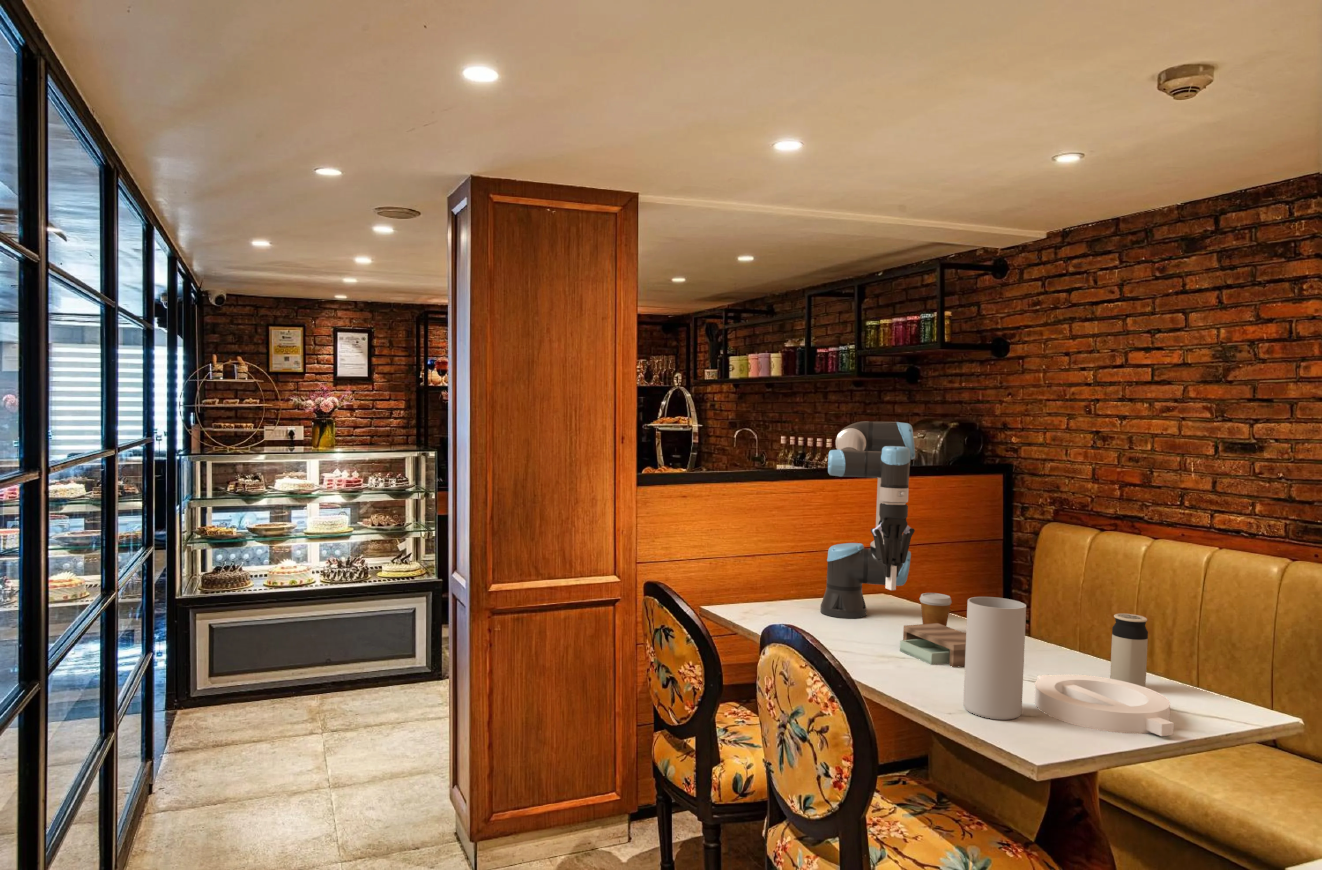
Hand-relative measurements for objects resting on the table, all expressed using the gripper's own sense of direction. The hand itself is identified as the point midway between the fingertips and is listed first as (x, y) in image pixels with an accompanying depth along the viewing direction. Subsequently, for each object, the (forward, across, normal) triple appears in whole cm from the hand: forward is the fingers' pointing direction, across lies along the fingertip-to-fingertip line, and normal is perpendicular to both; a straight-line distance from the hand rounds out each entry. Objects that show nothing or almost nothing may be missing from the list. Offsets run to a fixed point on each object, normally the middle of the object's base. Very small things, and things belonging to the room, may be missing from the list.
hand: (890, 589), depth 247 cm
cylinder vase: (+19, -2, -43) cm, 48 cm away
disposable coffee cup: (+20, +31, +20) cm, 41 cm away
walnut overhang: (+19, +19, 0) cm, 27 cm away
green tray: (+19, +15, -1) cm, 24 cm away
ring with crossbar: (+20, +23, -50) cm, 59 cm away
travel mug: (+20, +45, -38) cm, 62 cm away
